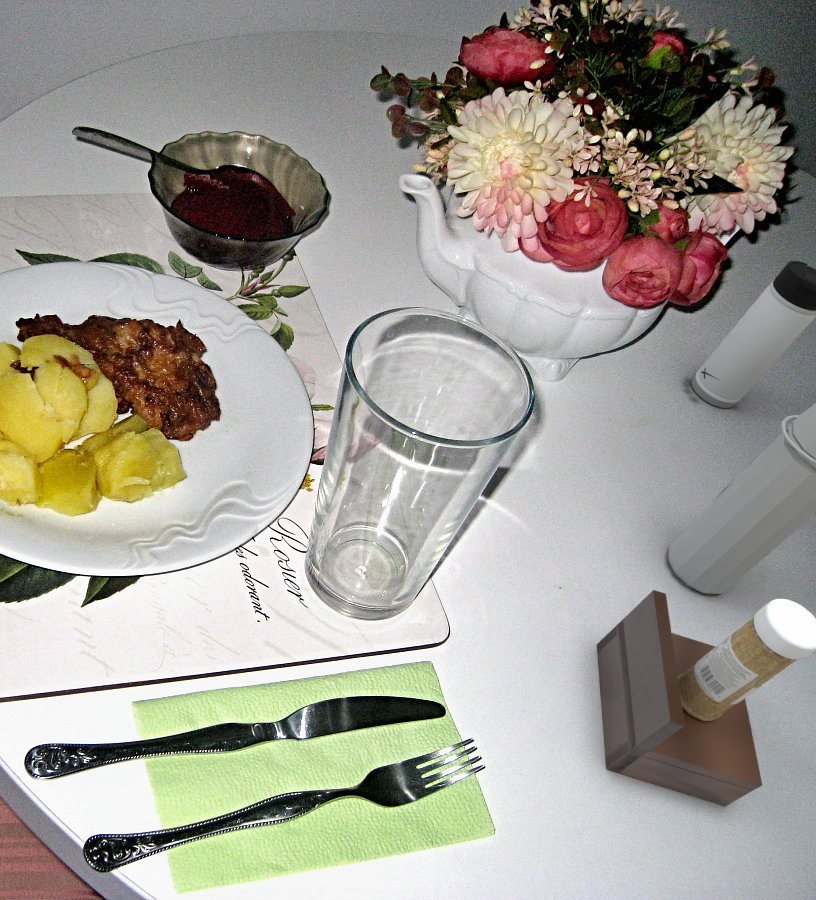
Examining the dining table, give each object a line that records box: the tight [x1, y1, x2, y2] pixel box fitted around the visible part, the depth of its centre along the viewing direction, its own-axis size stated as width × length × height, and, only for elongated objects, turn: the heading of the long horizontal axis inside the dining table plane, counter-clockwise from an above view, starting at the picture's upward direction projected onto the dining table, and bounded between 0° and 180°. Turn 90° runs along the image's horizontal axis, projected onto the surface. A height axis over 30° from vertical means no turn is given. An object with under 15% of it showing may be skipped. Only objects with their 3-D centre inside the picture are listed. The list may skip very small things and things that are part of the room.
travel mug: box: [691, 260, 816, 409], centre depth 111 cm, size 6×7×20 cm
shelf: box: [596, 589, 763, 807], centre depth 79 cm, size 11×13×10 cm
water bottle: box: [667, 402, 816, 595], centre depth 88 cm, size 9×8×25 cm
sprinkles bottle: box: [678, 598, 816, 721], centre depth 74 cm, size 5×5×13 cm
